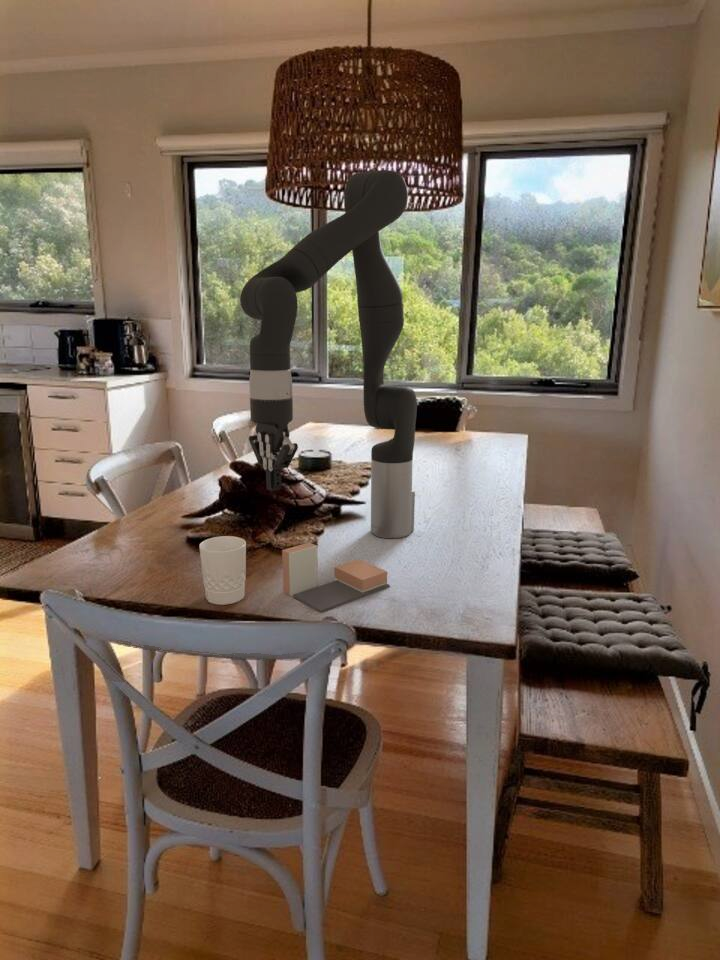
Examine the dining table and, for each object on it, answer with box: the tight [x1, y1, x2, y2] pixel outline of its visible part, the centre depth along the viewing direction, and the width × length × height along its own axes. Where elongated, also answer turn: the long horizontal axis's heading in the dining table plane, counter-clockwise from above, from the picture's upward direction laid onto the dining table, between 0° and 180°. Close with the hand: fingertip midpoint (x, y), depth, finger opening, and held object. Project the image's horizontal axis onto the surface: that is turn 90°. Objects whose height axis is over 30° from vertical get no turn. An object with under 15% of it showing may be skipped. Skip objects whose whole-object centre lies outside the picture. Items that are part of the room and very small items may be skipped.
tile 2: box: [333, 558, 388, 593], centre depth 118 cm, size 6×2×8 cm
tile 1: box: [281, 542, 319, 597], centre depth 115 cm, size 6×2×8 cm, turn 131°
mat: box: [292, 579, 391, 614], centre depth 115 cm, size 16×8×1 cm, turn 131°
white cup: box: [199, 535, 247, 606], centre depth 111 cm, size 8×8×10 cm
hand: (273, 489), depth 117 cm, fingers closed
